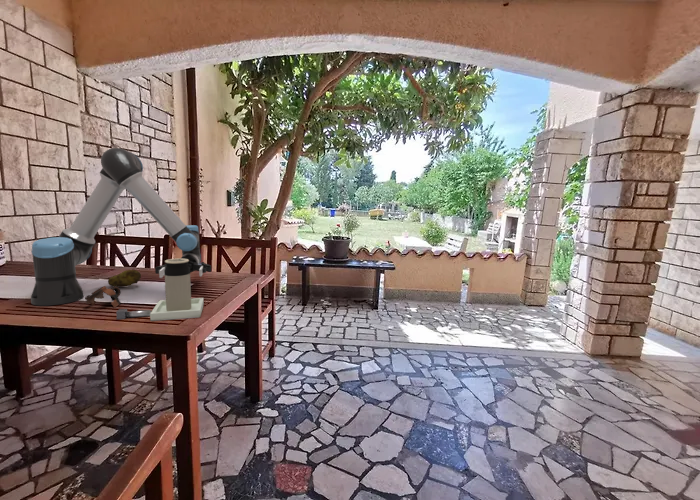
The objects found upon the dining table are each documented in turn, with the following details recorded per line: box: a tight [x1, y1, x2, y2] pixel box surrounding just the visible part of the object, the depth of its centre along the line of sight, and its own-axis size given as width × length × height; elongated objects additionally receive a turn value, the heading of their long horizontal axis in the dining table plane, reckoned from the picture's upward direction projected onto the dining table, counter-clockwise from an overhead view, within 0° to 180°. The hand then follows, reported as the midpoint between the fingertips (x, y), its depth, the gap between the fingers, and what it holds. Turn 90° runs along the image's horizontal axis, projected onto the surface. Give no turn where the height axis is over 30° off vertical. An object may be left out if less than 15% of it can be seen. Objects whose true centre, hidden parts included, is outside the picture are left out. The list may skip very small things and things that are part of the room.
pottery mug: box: [84, 286, 122, 309], centre depth 123 cm, size 12×10×8 cm
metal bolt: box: [116, 308, 152, 320], centre depth 112 cm, size 9×3×3 cm, turn 109°
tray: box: [149, 297, 205, 322], centre depth 118 cm, size 15×15×2 cm
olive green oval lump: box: [107, 268, 142, 288], centre depth 147 cm, size 8×13×8 cm, turn 74°
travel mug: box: [164, 257, 192, 311], centre depth 117 cm, size 8×8×18 cm
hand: (180, 273), depth 125 cm, fingers open, 13 cm apart
